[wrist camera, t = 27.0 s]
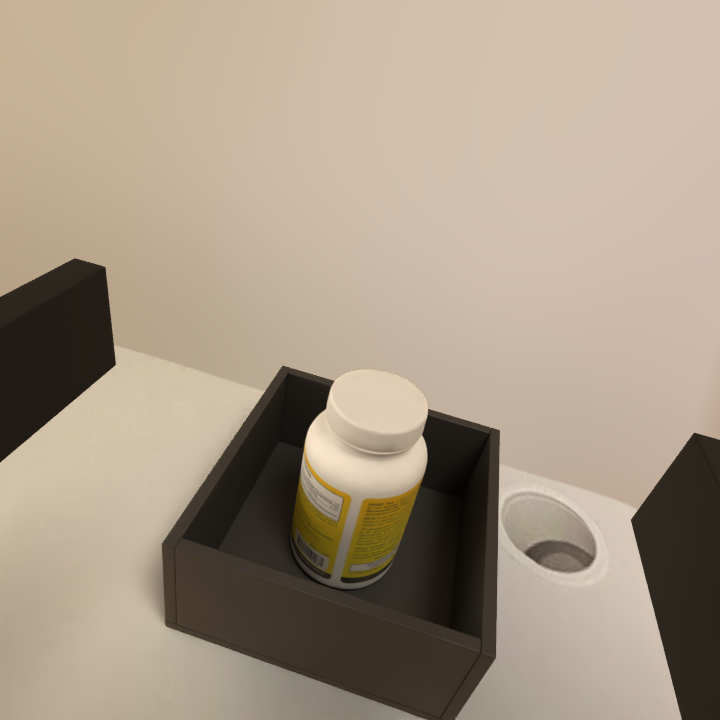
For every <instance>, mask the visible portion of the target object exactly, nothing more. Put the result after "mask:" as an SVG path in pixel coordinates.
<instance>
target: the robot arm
mask: <svg viewBox="0 0 720 720" xmlns="http://www.w3.org/2000/svg"><path fill="white" fill-rule="evenodd" d="M115 365H116V362H115V352H114V343H113V334H112V324H111V315H110V307H109V298H108V287H107V278H106V269H105V267H103V266H100V265H97V264H93V263H90V262H86V261H82V260H79V259H73V260H71V261H69V262H67V263H65V264H63V265H61V266H59V267H57V268H55V269H54V270H52V271H50V272H48V273H46V274H44V275H42V276H40V277H38V278H36V279H35V280H32V281H31V282H28V283H27V284H24V285H23V286H21V287H19V288H17V289H15V290H13V291H11V292H9V293H7V294H5V295H3V296H1V297H0V462H1V461H2V460H4V459H5V458H6V457H7V456H8V455H10V454H11V453H12V452H13V451H14V450H15V449H17V448H18V447H19V446H20V445H21V444H23V443H24V442H25V441H26V440H27V439H29V438H30V437H31V436H32V435H33V434H34V433H36V432H37V431H38V430H39V429H40V428H42V427H43V426H44V425H45V424H46V423H47V422H49V421H50V420H51V419H52V418H53V417H55V416H56V415H57V414H58V413H59V412H60V411H62V410H63V409H64V408H65V407H66V406H68V405H69V404H70V403H71V402H72V401H74V400H75V399H76V398H77V397H78V396H79V395H81V394H82V393H83V392H84V391H85V390H87V389H88V388H89V387H90V386H91V385H92V384H94V383H95V382H96V381H97V380H98V379H100V378H101V377H102V376H103V375H104V374H105V373H107V372H108V371H109V370H110V369H111V368H113V367H114V366H115ZM631 522H632V526H633V530H634V534H635V538H636V542H637V546H638V550H639V554H640V558H641V561H642V565H643V569H644V573H645V577H646V581H647V585H648V589H649V593H650V597H651V600H652V604H653V608H654V612H655V616H656V620H657V624H658V628H659V632H660V636H661V640H662V643H663V647H664V651H665V655H666V659H667V663H668V667H669V671H670V675H671V679H672V682H673V686H674V690H675V694H676V698H677V702H678V706H679V710H680V714H681V718H682V720H720V440H718V439H715V438H711V437H707V436H704V435H700V434H697V433H694V434H693V435H692V436H691V438H690V439H689V441H688V442H687V443H686V445H685V446H684V447H683V449H682V450H681V452H680V453H679V455H678V456H677V457H676V459H675V460H674V461H673V463H672V464H671V466H670V467H669V468H668V470H667V471H666V472H665V474H664V475H663V476H662V478H661V479H660V481H659V482H658V483H657V485H656V486H655V487H654V489H653V490H652V492H651V493H650V494H649V496H648V497H647V498H646V500H645V501H644V503H643V504H642V505H641V507H640V508H639V509H638V511H637V512H636V514H635V515H634V516H633V518H632V519H631Z"/></svg>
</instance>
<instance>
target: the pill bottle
mask: <svg viewBox="0 0 720 720" xmlns="http://www.w3.org/2000/svg"><path fill="white" fill-rule="evenodd" d="M427 415H428V404H427V401H426V399H425V397H424V395H423V394H422V392H421V391H420V390H419V389H418V388H417V387H416V386H415V385H414V384H412V383H411V382H409V381H408V380H406V379H404V378H402V377H400V376H398V375H395V374H392V373H389V372H385V371H381V370H374V369H362V370H354V371H351V372H347V373H345V374H343V375H342V376H340V377H339V378H338V379H336V381H335V382H334V383H333V385H332V387H331V389H330V393H329V397H328V401H327V407H326V410H324V411H323V412H322V413H320V414H319V415H318V416H317V418H316V419H315V420H314V421H313V423H312V424H311V426H310V428H309V430H308V433H307V436H306V440H305V446H304V453H303V460H302V466H301V472H300V478H299V485H298V490H297V497H296V503H295V509H294V515H293V521H292V528H291V546H292V550H293V554H294V556H295V558H296V560H297V562H298V563H299V565H300V566H301V568H302V569H303V570H304V571H305V572H306V573H307V574H308V575H309V576H311V577H312V578H314V579H315V580H317V581H318V582H320V583H322V584H324V585H327V586H330V587H333V588H338V589H358V588H362V587H365V586H368V585H370V584H372V583H374V582H375V581H377V580H378V579H380V578H381V577H382V576H383V575H384V574H385V573H386V572H387V570H388V569H389V568H390V566H391V564H392V562H393V560H394V557H395V555H396V553H397V550H398V547H399V544H400V541H401V538H402V535H403V533H404V530H405V527H406V524H407V522H408V519H409V516H410V513H411V510H412V507H413V505H414V502H415V499H416V496H417V493H418V490H419V487H420V484H421V482H422V479H423V476H424V473H425V470H426V465H427V447H426V444H425V440H424V438H423V436H422V433H423V430H424V426H425V423H426V419H427Z"/></svg>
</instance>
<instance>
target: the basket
mask: <svg viewBox="0 0 720 720" xmlns="http://www.w3.org/2000/svg"><path fill="white" fill-rule="evenodd" d="M334 382H335V381H333V380H329V379H326V378H323V377H319V376H316V375H313V374H309V373H306V372H302V371H299V370H296V369H291V368H289V367H286V366H282V367H281V369H280V370H279V372H278V373H277V375H276V376H275V378H274V379H273V381H272V382H271V384H270V385H269V387H268V388H267V390H266V391H265V392H264V394H263V395H262V397H261V398H260V400H259V401H258V403H257V404H256V406H255V407H254V409H253V410H252V412H251V413H250V415H249V416H248V418H247V419H246V421H245V422H244V423H243V425H242V426H241V428H240V429H239V431H238V432H237V434H236V435H235V437H234V438H233V440H232V441H231V443H230V444H229V446H228V447H227V449H226V450H225V452H224V453H223V454H222V456H221V457H220V459H219V460H218V462H217V463H216V465H215V466H214V468H213V469H212V471H211V472H210V474H209V475H208V477H207V478H206V480H205V481H204V483H203V484H202V486H201V487H200V488H199V490H198V491H197V493H196V494H195V496H194V497H193V499H192V500H191V502H190V503H189V505H188V506H187V508H186V509H185V511H184V512H183V514H182V515H181V517H180V518H179V519H178V521H177V522H176V524H175V525H174V527H173V528H172V530H171V531H170V533H169V534H168V536H167V537H166V539H165V540H164V542H163V543H162V558H163V579H164V599H165V620H166V621H165V622H166V626H167V627H170V628H173V629H176V630H179V631H181V632H184V633H187V634H190V635H193V636H195V637H198V638H201V639H204V640H207V641H210V642H212V643H215V644H218V645H221V646H224V647H226V648H229V649H232V650H235V651H238V652H240V653H243V654H246V655H249V656H252V657H254V658H257V659H260V660H263V661H266V662H268V663H271V664H274V665H277V666H280V667H282V668H285V669H288V670H291V671H294V672H296V673H299V674H302V675H305V676H308V677H310V678H313V679H316V680H319V681H322V682H324V683H327V684H330V685H333V686H336V687H338V688H341V689H344V690H347V691H350V692H353V693H355V694H358V695H361V696H364V697H367V698H369V699H372V700H375V701H378V702H381V703H383V704H386V705H389V706H392V707H395V708H397V709H400V710H403V711H406V712H409V713H411V714H414V715H417V716H420V717H423V718H425V719H428V720H455V718H456V717H457V715H458V714H459V712H460V711H461V709H462V708H463V706H464V705H465V703H466V702H467V700H468V699H469V697H470V696H471V694H472V693H473V691H474V690H475V688H476V687H477V685H478V684H479V682H480V681H481V679H482V678H483V676H484V675H485V673H486V672H487V670H488V669H489V667H490V666H491V664H492V663H493V661H494V660H495V658H496V620H497V561H498V503H499V444H500V431H499V430H497V429H493V428H490V427H487V426H483V425H480V424H477V423H473V422H470V421H467V420H463V419H460V418H456V417H453V416H450V415H446V414H443V413H439V412H436V411H433V410H430V409H428V415H427V419H426V423H425V426H424V430H423V433H422V436H423V438H424V440H425V444H426V447H427V465H426V470H425V473H424V476H423V479H422V482H421V484H420V487H419V490H418V493H417V496H416V499H415V502H414V505H413V507H412V510H411V513H410V516H409V519H408V522H407V524H406V527H405V530H404V533H403V535H402V538H401V541H400V544H399V547H398V550H397V553H396V555H395V557H394V560H393V562H392V564H391V566H390V568H389V569H388V570H387V572H386V573H385V574H384V575H383V576H382V577H381V578H380V579H378V580H377V581H375V582H374V583H372V584H370V585H368V586H365V587H362V588H358V589H338V588H333V587H330V586H327V585H324V584H322V583H320V582H318V581H317V580H315V579H314V578H312V577H311V576H309V575H308V574H307V573H306V572H305V571H304V570H303V569H302V568H301V566H300V565H299V563H298V562H297V560H296V558H295V556H294V554H293V550H292V546H291V528H292V521H293V515H294V509H295V503H296V497H297V490H298V485H299V478H300V472H301V466H302V460H303V453H304V446H305V440H306V436H307V433H308V430H309V428H310V426H311V424H312V423H313V421H314V420H315V419H316V418H317V416H318V415H319V414H320V413H322V412H323V411H324V410H326V407H327V401H328V397H329V393H330V389H331V387H332V385H333V383H334Z"/></svg>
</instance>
